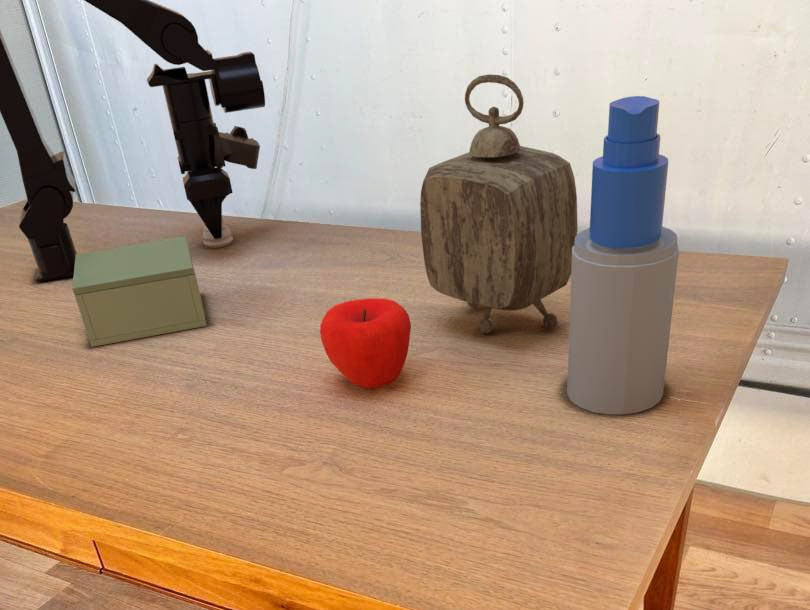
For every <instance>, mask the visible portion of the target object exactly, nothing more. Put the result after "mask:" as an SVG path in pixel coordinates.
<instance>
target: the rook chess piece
mask: <svg viewBox="0 0 810 610" xmlns="http://www.w3.org/2000/svg"><path fill="white" fill-rule="evenodd" d="M231 235H232V231H231V229H230V228H229V227H228V225H227V223H225V220H224V217H222V238H220V239H214V238H213V236H212V234H211V233H210V231H209V230H208V228H207V227H206V225H205V224H204V227H203V231H202V238H203V239H204V240H203V244H204V245H205V247H207V248H210V249H219V248H223V247H226V246H228V245H230V244H231V243H232V242H233V240H234V238H233V236H231Z"/></svg>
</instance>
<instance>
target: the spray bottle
mask: <svg viewBox="0 0 810 610" xmlns="http://www.w3.org/2000/svg"><path fill="white" fill-rule="evenodd" d="M659 112H660V100H659V99H657V98H651V97H648V96H645V95H634V96H627V97H626V96H625V97H621V98H619V99H616V100H613V101H611V102H609V108H608V126H607V135H605V136H604V137H603V146H602V156H599V157H597V158H595V159H594V160H593V161H592V169H591V170H592V171H591V190H590V191H591V193H590V216H589V217H590V218H589V227H588V228H585V229H584V230H581V231H579V232H578V233H577V236H576V237H575V245H574V246H573V247H572V265H571V276H570V299H569V304H570V305H569V327H568V328H569V330H568V357H567V358H568V359H567V384H566V385H567V387H566V389H567V390H566V391H567V392H566V395H567V397H568V398H569V400H570V402H571V403H573V404H574V405H576V406H577V407H579V408H581V409H584V410H586V411H589V412H592V413H597V414H604V415H618V416H619V415H620V416H621V415H622V416H623V415H629V414H637V413H641V412H643V411H646V410H648V409H651V408H653V407H654V406H656V405H657V404H659V403H660V401H661V400H662V399H663V396H664V391H665V390H664V389H665V381H666V372H667V371H666V370H667V362H668V353H669V344H670V335H671V326H672V317H673V309H674V308H673V307H674V301H675V291H676V281H677V274H678V273H677V272H678V264H679V263H678V262H679V255H680V254H679V253H680V248H679V244H678V241H679V240H678V235H677V233H676V232H675V231H673V230H672V229H670V228H668V227H665V226H663V222H664V214H665V213H664V212H665V203H666V192H667V191H666V190H667V180H668V171H669V158H668V157H666V156H665V155H663V154H660V146H661V134H660V133H658V124H659V123H658V122H659Z"/></svg>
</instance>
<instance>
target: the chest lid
mask: <svg viewBox="0 0 810 610" xmlns="http://www.w3.org/2000/svg"><path fill="white" fill-rule="evenodd" d="M189 250H190V246H189V241H188V238H187V236H186V235H185V236H179V237H172V238H166V239H160V240H155V241H154V240H153V241H148V242H142V243H137V244H131V245H130V244H129V245H126V246H119V247H113V248H105V249H100V250H95V251H88V252H82V253H77V254H76V257H75V267H74V276H72V277H73V278H72V286H71V287H72V289H71V290H72V292H73V295H74V296H75V295H77V294H83V293H88V292H94V291H100V290H106V289H111V288H117V287H123V286H129V285H134V284H140V283H146V282H152V281H158V280H163V279H169V278H175V277H181V276H186V275H192V274H194V270H195V269H194V270H193V266H194V264H193V265H192V262H193V259H192V260H191V258H192V254H191V250H190V251H189ZM190 254H191V255H190Z"/></svg>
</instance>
